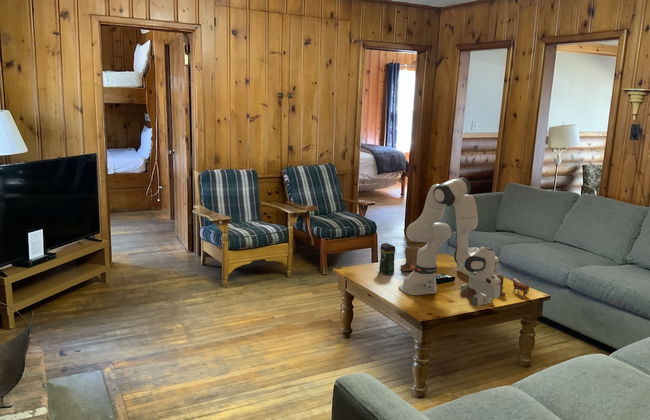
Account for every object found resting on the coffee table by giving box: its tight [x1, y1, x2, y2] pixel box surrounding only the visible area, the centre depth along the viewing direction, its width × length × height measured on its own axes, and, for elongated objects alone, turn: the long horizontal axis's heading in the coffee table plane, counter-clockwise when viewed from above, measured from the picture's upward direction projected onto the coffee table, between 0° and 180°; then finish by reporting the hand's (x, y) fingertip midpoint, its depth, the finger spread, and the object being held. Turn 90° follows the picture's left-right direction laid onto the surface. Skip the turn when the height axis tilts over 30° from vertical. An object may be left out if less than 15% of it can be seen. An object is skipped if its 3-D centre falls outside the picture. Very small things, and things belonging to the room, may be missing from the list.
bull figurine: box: [510, 277, 530, 298], centre depth 310 cm, size 4×13×8 cm, turn 21°
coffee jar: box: [378, 242, 396, 275], centre depth 338 cm, size 10×8×19 cm
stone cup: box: [400, 246, 421, 272], centre depth 346 cm, size 15×12×15 cm
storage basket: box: [456, 246, 500, 278], centre depth 340 cm, size 24×16×15 cm
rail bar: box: [471, 294, 494, 307], centre depth 294 cm, size 12×4×4 cm, turn 119°
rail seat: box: [459, 273, 506, 301], centre depth 307 cm, size 23×12×11 cm, turn 119°
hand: (482, 300), depth 294 cm, fingers closed on rail bar, 3 cm apart
